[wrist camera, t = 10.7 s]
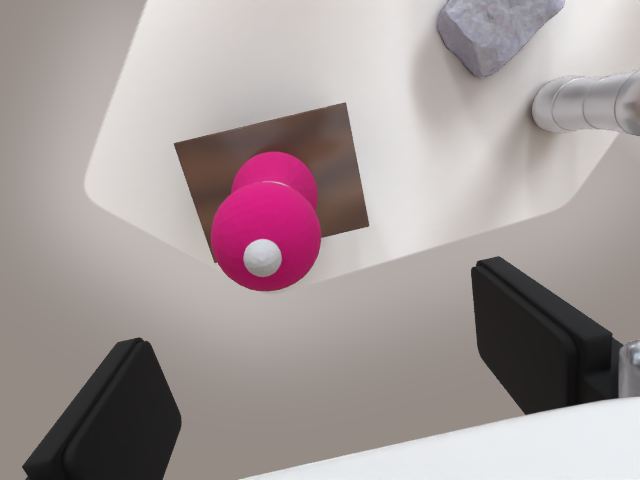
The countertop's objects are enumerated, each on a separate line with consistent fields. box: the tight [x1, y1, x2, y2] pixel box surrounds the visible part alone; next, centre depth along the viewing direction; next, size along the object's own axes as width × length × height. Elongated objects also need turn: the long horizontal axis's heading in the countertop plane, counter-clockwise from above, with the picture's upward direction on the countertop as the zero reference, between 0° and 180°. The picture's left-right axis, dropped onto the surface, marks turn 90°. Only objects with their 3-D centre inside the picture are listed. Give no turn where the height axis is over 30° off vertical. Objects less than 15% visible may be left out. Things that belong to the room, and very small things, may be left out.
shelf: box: [174, 103, 369, 263], centre depth 42 cm, size 12×16×12 cm
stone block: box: [437, 0, 565, 78], centre depth 42 cm, size 12×5×10 cm
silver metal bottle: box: [532, 68, 640, 136], centre depth 38 cm, size 6×7×20 cm
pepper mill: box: [211, 152, 321, 291], centre depth 26 cm, size 7×7×20 cm
